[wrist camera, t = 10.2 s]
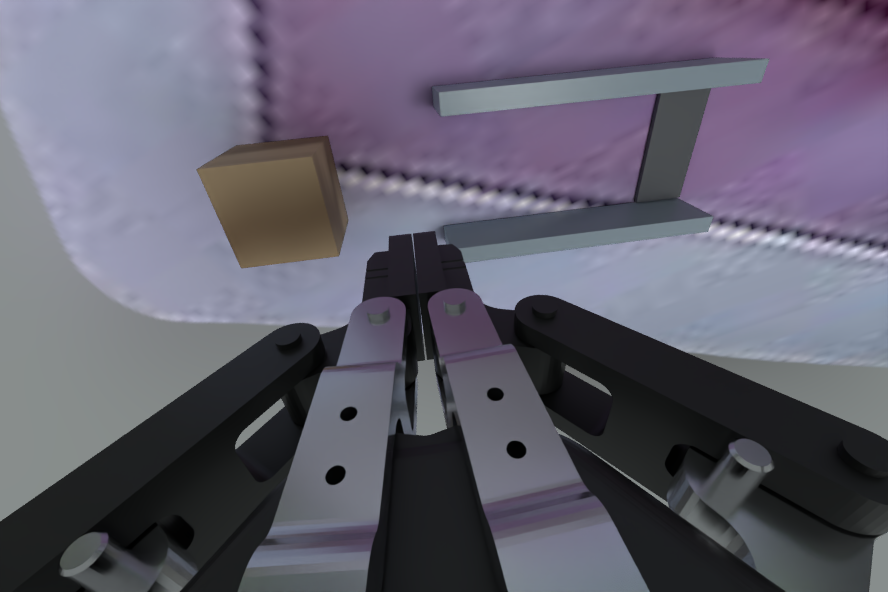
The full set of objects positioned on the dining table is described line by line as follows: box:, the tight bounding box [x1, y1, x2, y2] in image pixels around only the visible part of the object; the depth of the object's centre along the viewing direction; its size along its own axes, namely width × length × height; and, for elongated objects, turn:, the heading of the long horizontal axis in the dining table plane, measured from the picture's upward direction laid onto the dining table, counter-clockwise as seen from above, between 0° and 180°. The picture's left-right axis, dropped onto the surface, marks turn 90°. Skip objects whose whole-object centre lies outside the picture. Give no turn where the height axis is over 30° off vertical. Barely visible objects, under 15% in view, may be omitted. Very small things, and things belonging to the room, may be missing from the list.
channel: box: [432, 58, 769, 263], centre depth 21 cm, size 9×16×4 cm, turn 95°
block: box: [197, 136, 348, 268], centre depth 20 cm, size 5×5×5 cm
